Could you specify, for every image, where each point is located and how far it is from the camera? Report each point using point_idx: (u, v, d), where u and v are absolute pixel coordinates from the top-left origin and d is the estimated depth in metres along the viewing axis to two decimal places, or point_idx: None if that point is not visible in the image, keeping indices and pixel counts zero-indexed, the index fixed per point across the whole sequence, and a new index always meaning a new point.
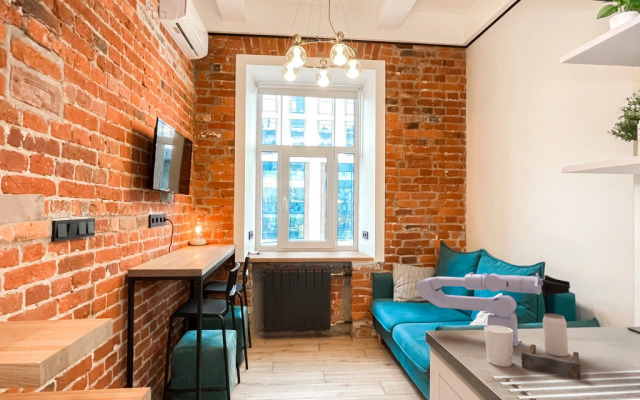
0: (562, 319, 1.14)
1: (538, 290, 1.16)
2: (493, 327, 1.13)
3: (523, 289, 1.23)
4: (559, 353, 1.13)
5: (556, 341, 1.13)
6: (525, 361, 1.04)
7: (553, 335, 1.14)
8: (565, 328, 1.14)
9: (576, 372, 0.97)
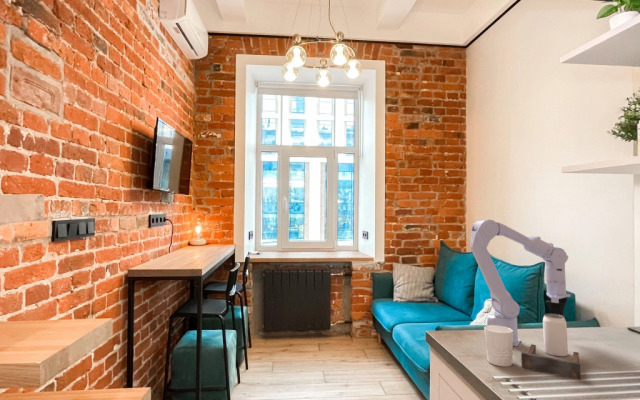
0: (562, 319, 1.14)
1: (553, 300, 1.21)
2: (493, 327, 1.13)
3: (550, 283, 1.25)
4: (559, 353, 1.13)
5: (556, 341, 1.13)
6: (525, 361, 1.04)
7: (553, 335, 1.14)
8: (565, 328, 1.14)
9: (576, 372, 0.97)
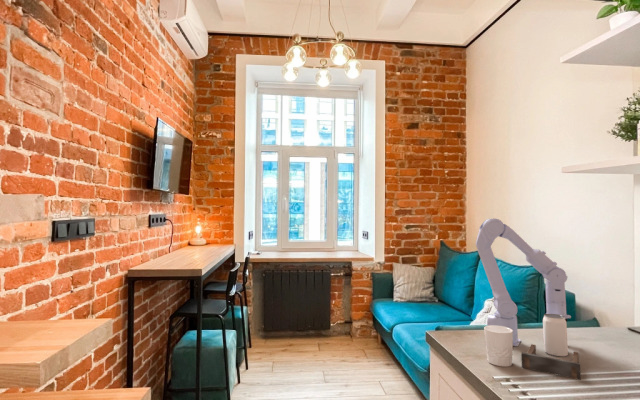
0: (562, 319, 1.14)
1: None
2: (493, 327, 1.13)
3: (550, 303, 1.22)
4: (559, 353, 1.13)
5: (556, 341, 1.13)
6: (525, 361, 1.04)
7: (553, 335, 1.14)
8: (565, 328, 1.14)
9: (576, 372, 0.97)
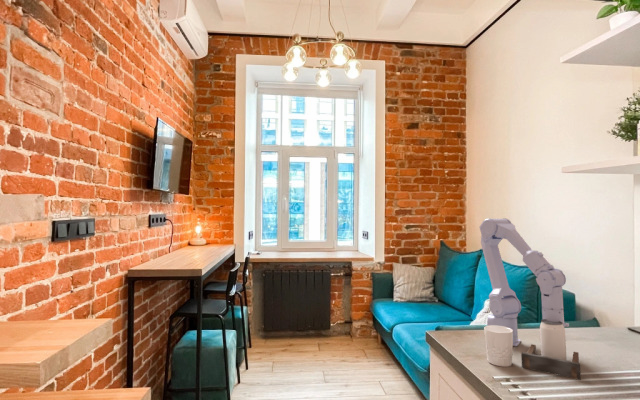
0: (560, 326, 1.07)
1: None
2: (493, 327, 1.13)
3: (546, 310, 1.12)
4: None
5: (554, 349, 1.06)
6: (525, 361, 1.04)
7: (551, 343, 1.07)
8: (563, 335, 1.06)
9: (576, 372, 0.97)
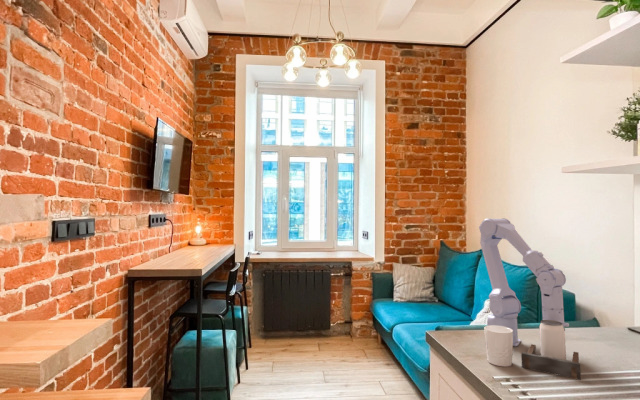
0: (560, 326, 1.06)
1: None
2: (493, 327, 1.13)
3: (546, 310, 1.12)
4: None
5: (554, 350, 1.05)
6: (525, 361, 1.04)
7: (550, 343, 1.06)
8: (563, 336, 1.06)
9: (576, 372, 0.97)
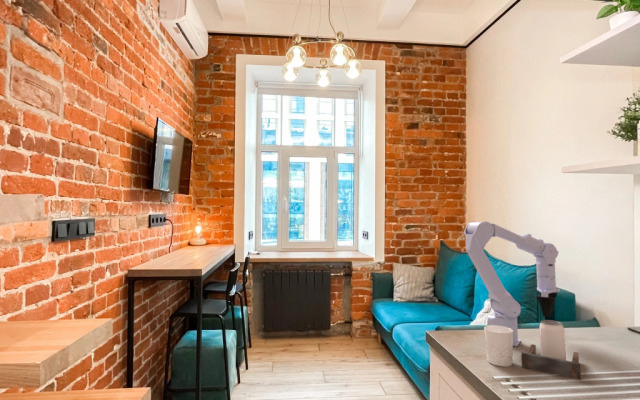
0: (560, 326, 1.06)
1: (542, 294, 1.23)
2: (493, 327, 1.13)
3: (540, 278, 1.28)
4: None
5: (554, 350, 1.05)
6: (525, 361, 1.04)
7: (550, 343, 1.06)
8: (563, 336, 1.06)
9: (576, 372, 0.97)
